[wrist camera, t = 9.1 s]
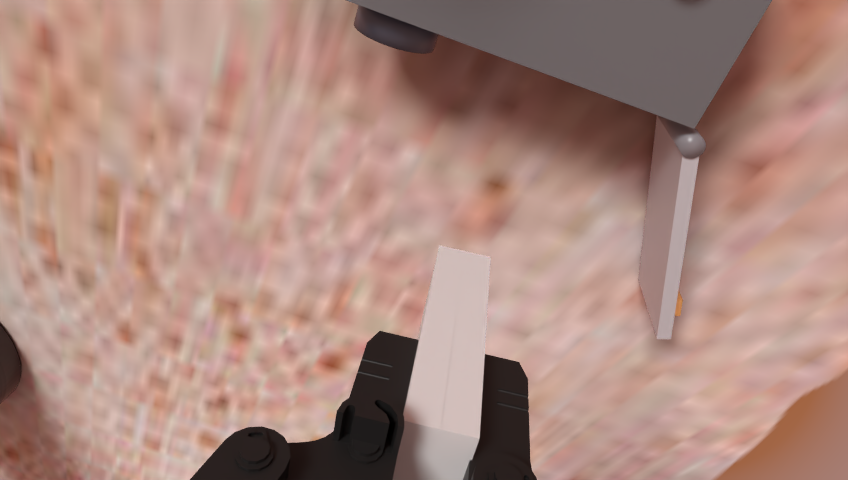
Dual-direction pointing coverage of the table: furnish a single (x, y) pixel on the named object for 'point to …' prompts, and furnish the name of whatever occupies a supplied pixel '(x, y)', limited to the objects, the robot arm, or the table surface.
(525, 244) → the table surface
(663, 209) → the door
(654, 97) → the case
